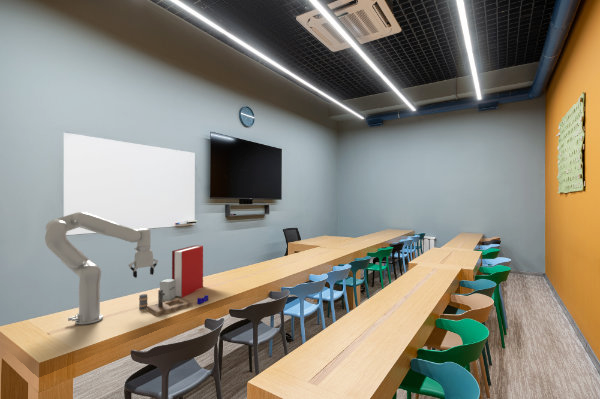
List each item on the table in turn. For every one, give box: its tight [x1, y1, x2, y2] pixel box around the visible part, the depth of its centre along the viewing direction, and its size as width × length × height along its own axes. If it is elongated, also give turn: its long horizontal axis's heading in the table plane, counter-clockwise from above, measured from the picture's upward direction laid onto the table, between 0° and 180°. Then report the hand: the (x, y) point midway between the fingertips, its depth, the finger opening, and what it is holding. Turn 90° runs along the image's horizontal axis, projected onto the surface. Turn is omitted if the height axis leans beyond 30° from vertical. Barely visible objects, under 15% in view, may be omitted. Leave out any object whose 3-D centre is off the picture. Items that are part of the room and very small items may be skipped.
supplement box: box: [159, 278, 176, 302], centre depth 204 cm, size 7×7×13 cm
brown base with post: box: [146, 289, 193, 317], centre depth 186 cm, size 22×14×12 cm, turn 138°
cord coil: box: [138, 293, 149, 310], centre depth 187 cm, size 5×5×8 cm
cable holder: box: [196, 294, 209, 305], centre depth 197 cm, size 8×4×4 cm, turn 156°
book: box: [171, 244, 204, 298], centre depth 221 cm, size 27×8×32 cm, turn 166°
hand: (143, 275), depth 187 cm, fingers open, 9 cm apart
